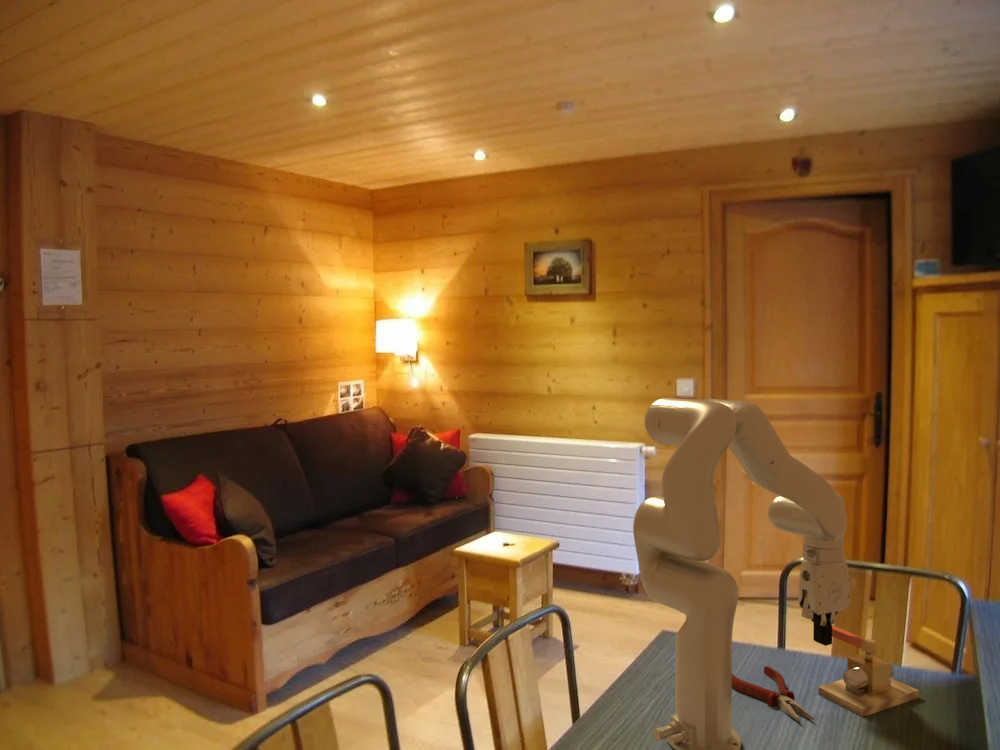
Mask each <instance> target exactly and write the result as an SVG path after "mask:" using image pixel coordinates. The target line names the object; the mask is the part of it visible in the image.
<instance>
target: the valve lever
mask: <svg viewBox="0 0 1000 750" xmlns="http://www.w3.org/2000/svg"><path fill="white" fill-rule="evenodd" d="M831 625H832V638H835V639H837V640H839V641H842V642H844V643H846V644H848V645H852V646H854V647H856V648H859V649H860V651H862V653H865V652H866V653H871V654H873V655H874V654H876V653H877V652H878V642H877V641H876V640H874V639H871V638H865V637H862V636H859V635H858V634H855V633H852V632H850V631H847V630H846V629H843V628H840V627H837V626H835V625H834V624H831Z"/></svg>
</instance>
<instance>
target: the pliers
mask: <svg viewBox="0 0 1000 750" xmlns="http://www.w3.org/2000/svg"><path fill="white" fill-rule="evenodd" d="M763 674H764V675H765V676H767V677H768V678H770V680H773V681H774V683H776V685H777V690H778V692H777V691H775V690H771V689H768V688H765V687H762V686H759V685H756V684H754V683H751V682H747V681H745V680H742V679H741V678H739V677H737V676H735V674H734V673H732V690H735V691H737V692H740V693H742V694H744V695H748V696H750V697H752V698H756V699H758V700H760V701H763V702H766V703H767V707H770V708H772V707H773V705H774V706H776V707H777V706H778V707H779V708H780V709H781V711H783V713H785V714H787V716H789V717H791V718H792V719H794V720H795V721H797V722H798V723H800V724H801V719H800V717H799V716H801V717H804V718H806V719H807V718H808V719H810V720H812V721H815V717H813V716H812V715H811V714H810V713H809V712H808V711H807V710H806V709H804V707H803V706H801V705H800V704H799V703H798V702H797V701H795V693H794V692H793V691H792V690H787V686H786V682H785V680H784V677H783V676H782V674H781V673H780V672H779V671H777V670H776V669H773V668H772V667H771V666H767V665H766V666H765V665H764V668H763ZM798 715H799V716H798Z"/></svg>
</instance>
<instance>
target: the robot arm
mask: <svg viewBox="0 0 1000 750" xmlns="http://www.w3.org/2000/svg"><path fill="white" fill-rule="evenodd" d="M644 427H645V431H646V433H647V435H648V436H649V437H650V438H651V439H652V441H654V442H656V443H658V444H660V445H666V446H669V447H677V448H676V449H675V451H674V452H673V454H672V455H671V456H670V458H669V459H668V461H667V463H666V465H665V466H664V468H663V472H662V476H661V489H662V496H659V495H657V496H650V497H649V498H646V499H645V500H644V501H642V502H641V503H640V505H639V506H638V507H637V509H636V512H635V515H634V519H633V525H632V526H633V527H632V530H633V531H632V532H633V539H634V540H633V542H634V546H635V551H636V558H637V562H638V568H639V574H640V579H641V583H642V587H643V589H644V591H645V593H646V595H647V596H648V597H649V598H650V599H651V600H652V601H654V602H656V603H658V604H661V605H663V606H666V607H669V608H670V609H673V610H676V611H678V612H679V613H682V614H684V615H685V620H684V622H683V624H682V625H681V627H680V628H679V629H678V630H677V631H678V632H677V634H676V637H675V643H674V644H675V645H674V647H675V651H674V652H675V657H674V658H675V659H674V661H675V668H674V669H675V670H674V671H675V675H674V676H675V677H674V678H675V680H674V683H675V684H674V686H675V689H674V690H675V691H674V694H675V695H674V696H675V699H674V700H675V713H674V714H671V715H670V722H668V723H667V724H666V725H665V726H660V727H657V728H654V729H653V730H652V736H653V738H654V740H655V741H657V742H659V741H662V740H667V742H668V744H669V745H670V747H672V748H673V749H674V750H741V748H742V747H741V746H742V738H741V736H740V734H739V733H738V732H737V731H736V730H735V729H734V728H733V727H732V721H733V719H732V715H733V714H732V712H733V711H732V710H733V709H732V706H733V705H732V701H733V700H732V699H733V697H732V694H733V693H732V691H733V688H732V674H733V673H732V672H733V669H732V668H733V664H732V663H733V657H732V656H733V629H734V621H735V616H736V611H737V605H738V601H739V586H738V583H737V581H736V579H735V578H734V576H733V575H732V574H731V573H730V571H729V572H728V570H726V569H725V568H723V567H720V566H718V565H716V564H714V563H711V562H707V561H709V560H711V559H714V558H715V556H716V555H717V554H718V552H719V550H720V547H721V538H722V537H721V530H720V521H719V515H718V509H717V504H716V503H717V501H716V496H715V495H716V494H715V488H714V487H715V486H714V477H715V476H714V475H715V471H716V468H717V466H718V465H719V462H720V460H721V458H722V457H723V455H724V453H725V451H726V450H727V449H729V450H730V452H731V453H732V454H733V455H734V457H735V458H736V460H737V461H738V463H739V464H740V466H741V467H742V469H743V470H744V473H746V475H747V476H748V479H750V480H751V482H753V483H754V484H756V485H757V486H759V487H761V488H763V489H764V490H767V491H768V492H770V493H773V494H775V495H777V496H776V497H775V498H774V499H773V500H772V501H771V502H770V504H769V506H768V509H767V514H768V519H769V521H770V523H771V524H772V526H774V527H775V528H777V530H780V531H783V532H785V533H790V534H793V535H798V536H802V538H803V539H802V540H803V541H802V542H803V543H802V558H803V559H802V560H801V565H800V570H799V571H800V572H799V576H798V577H799V578H798V579H799V580H798V597H797V598H798V605H799V606H798V607H799V608H801V609H802V610H801V617H803V618H804V619H806V620H807V619H808V620H810V621H811V622H812V623H813V641H814V642H816V643H818V644H820V645H823V646H825V647H827V646H829V645H832V644H833V637H832V625H834V624H835V621H836V616H837V614H838V613H841V612H842V611H843V610H845V609H847V608H849V607H850V603H851V585H850V574H849V567H848V563H847V560H846V558H845V533H846V530H847V527H848V515H847V511H846V509H845V500H844V497H843V496H842V494H840V493H838V492H836V490H835V489H834V487H832V485H831V484H830V483H829V482H828V481H827V480H826V479H825V478H824V477H823V476H821V475H820V474H818V473H817V472H816V471H814V470H813V469H811V468H810V467H808V466H807V465H806V464H804V463H803V462H801V461H800V460H798V458H796V457H794V456H792V455H791V453H790V452H789V451H788V450H787V448H786V446H785V444H784V443H783V441H782V439H781V438H780V437H779V435H778V433H777V432H776V430H775V428H774V427H773V425H772V423H771V421H770V420H769V419H768V417H767V415H766V414H765V412H764V410H762V408H761V407H759V406H758V405H757V404H755V403H753V402H749V401H744V400H733V399H722V398H721V399H719V398H676V397H675V398H674V397H661V398H658V399H657V400H655V401H653V402H652V403H651V404H650V405H649V407H648V408H647V410H646V413H645V415H644Z"/></svg>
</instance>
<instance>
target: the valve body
mask: <svg viewBox="0 0 1000 750" xmlns="http://www.w3.org/2000/svg"><path fill="white" fill-rule="evenodd" d="M894 672H895V670H894V668H893V666H892V664H891V663H890V662H889V661H887V660H885V659H881V658H879V657H876V656H874V653H873V654H871V653H866V652H862V653H859V654H854V655H852V656H849V657H847V668H846V670H844V671H843V673H842V679H843V680H844V682H845V684H846V691H848V692H850V693H852V694H854V695H856V696H858V697H860V696H863V695H865V694H866V695H869V696H871V697H875V696H878V695H881V694H884V693H887V692H890V687H891V680H890V678H892V679H893V677H894Z"/></svg>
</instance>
